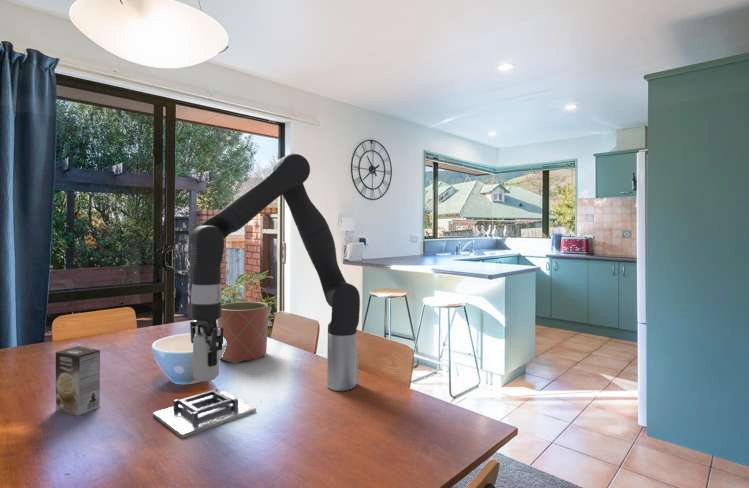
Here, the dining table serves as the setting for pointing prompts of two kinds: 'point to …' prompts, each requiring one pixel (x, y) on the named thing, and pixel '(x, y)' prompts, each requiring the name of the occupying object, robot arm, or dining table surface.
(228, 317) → the planter
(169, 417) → the collar stand
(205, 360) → the beverage can
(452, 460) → the dining table surface
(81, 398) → the coffee box
